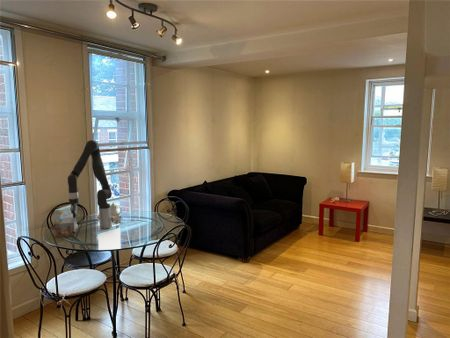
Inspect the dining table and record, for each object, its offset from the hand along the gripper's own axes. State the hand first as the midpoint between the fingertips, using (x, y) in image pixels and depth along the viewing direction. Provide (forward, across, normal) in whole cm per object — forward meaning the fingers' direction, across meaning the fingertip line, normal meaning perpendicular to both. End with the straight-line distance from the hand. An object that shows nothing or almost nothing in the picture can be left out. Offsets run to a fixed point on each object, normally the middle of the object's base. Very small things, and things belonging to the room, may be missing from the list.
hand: (74, 217), depth 280 cm
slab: (+4, +16, 0) cm, 16 cm away
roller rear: (+4, +7, 0) cm, 8 cm away
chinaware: (+10, -22, +25) cm, 35 cm away
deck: (+9, +12, 0) cm, 15 cm away
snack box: (+9, -16, -13) cm, 22 cm away
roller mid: (+4, +14, +1) cm, 15 cm away
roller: (+6, +20, 0) cm, 21 cm away
